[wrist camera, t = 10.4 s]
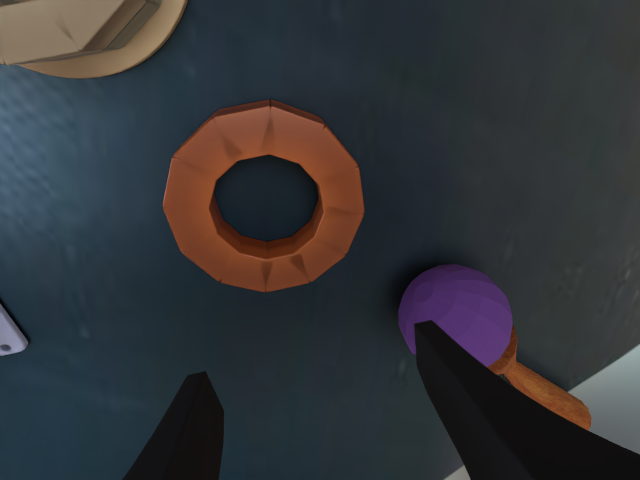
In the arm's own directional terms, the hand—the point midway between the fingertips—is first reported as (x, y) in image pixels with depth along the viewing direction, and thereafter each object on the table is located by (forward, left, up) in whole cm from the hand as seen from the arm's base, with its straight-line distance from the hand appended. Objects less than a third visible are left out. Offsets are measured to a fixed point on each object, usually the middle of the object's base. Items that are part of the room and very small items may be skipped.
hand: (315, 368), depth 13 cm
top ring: (-1, +3, -9) cm, 10 cm away
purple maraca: (+12, -11, -10) cm, 19 cm away
